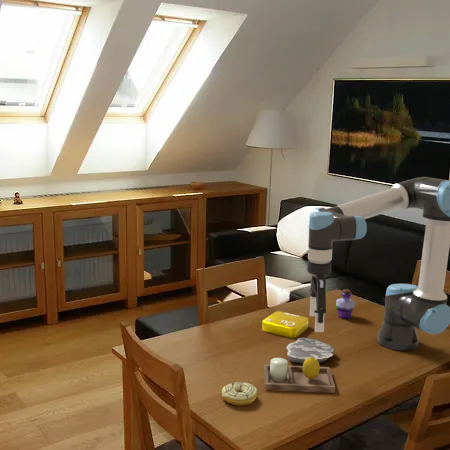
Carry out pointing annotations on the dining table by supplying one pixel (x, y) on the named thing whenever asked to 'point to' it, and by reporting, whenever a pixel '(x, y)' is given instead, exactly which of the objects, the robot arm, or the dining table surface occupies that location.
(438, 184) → the robot arm
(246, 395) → the decorated donut
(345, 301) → the potion bottle
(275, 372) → the white capsule pill
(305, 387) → the organizer
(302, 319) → the element tile
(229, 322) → the dining table surface
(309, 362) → the lemon
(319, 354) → the brain slice
